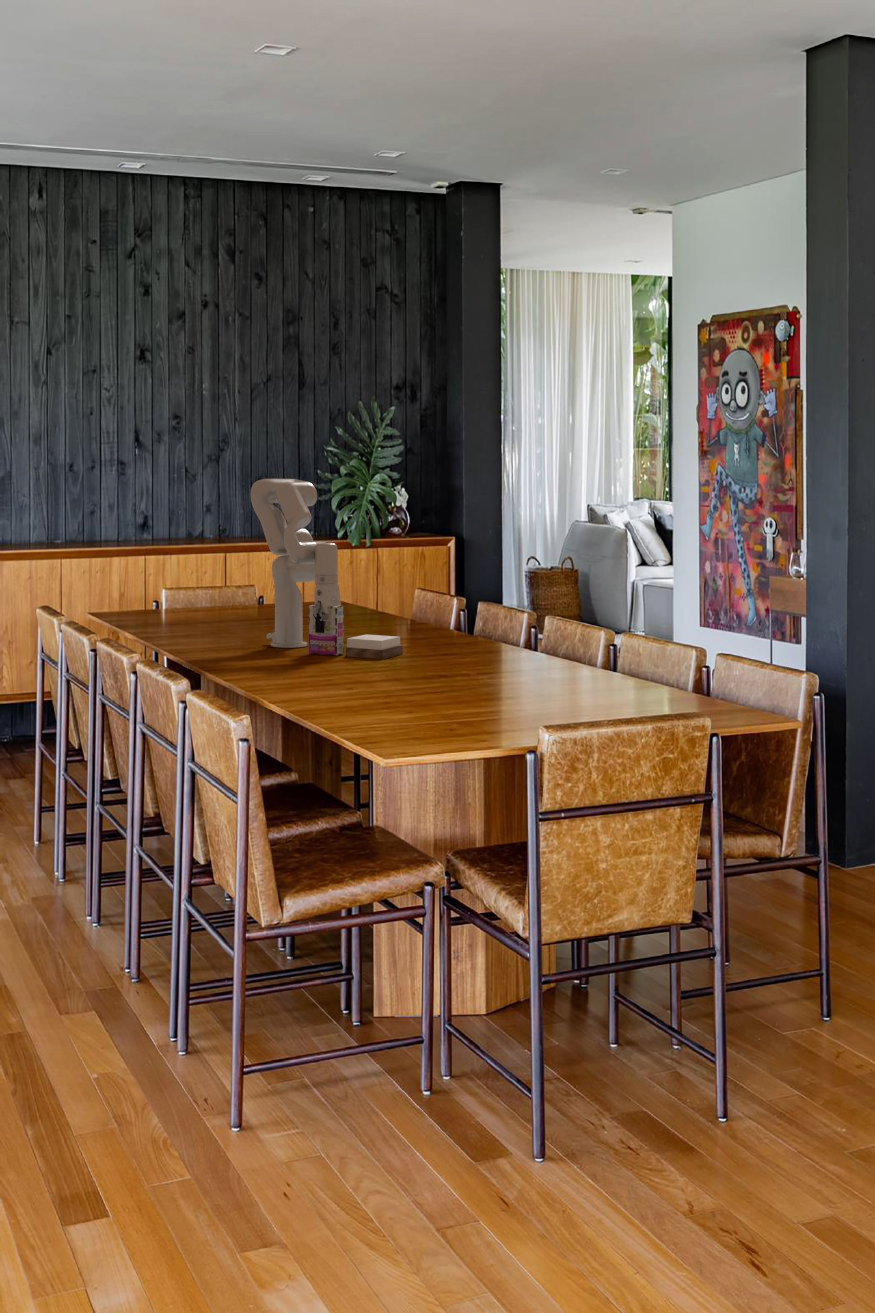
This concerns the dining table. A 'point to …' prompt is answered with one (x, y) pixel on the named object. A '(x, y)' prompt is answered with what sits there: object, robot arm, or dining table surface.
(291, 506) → the robot arm
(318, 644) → the candy bar box
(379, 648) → the cream top block
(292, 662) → the dining table surface
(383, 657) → the walnut base block
